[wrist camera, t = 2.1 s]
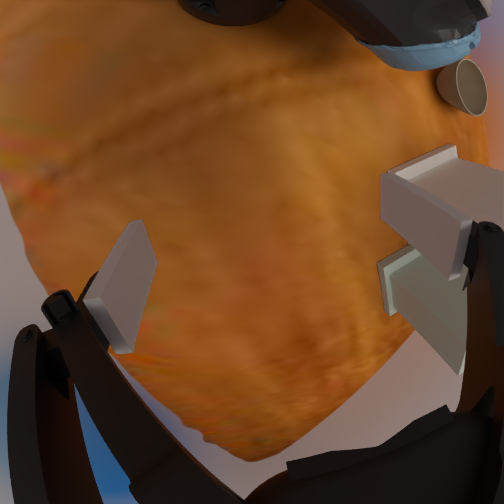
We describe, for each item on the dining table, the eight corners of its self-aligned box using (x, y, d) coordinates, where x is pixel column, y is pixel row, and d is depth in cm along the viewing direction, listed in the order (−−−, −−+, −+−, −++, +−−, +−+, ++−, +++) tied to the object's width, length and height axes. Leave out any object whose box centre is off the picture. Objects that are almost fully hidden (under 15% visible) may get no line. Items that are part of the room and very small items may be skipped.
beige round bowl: (420, 60, 32) (450, 56, 26) (453, 62, 32) (481, 60, 26) (433, 115, 36) (463, 118, 30) (463, 111, 37) (491, 114, 31)
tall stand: (399, 235, 44) (535, 335, 18) (387, 170, 39) (562, 246, 12) (455, 202, 44) (577, 268, 18) (448, 143, 39) (591, 190, 12)
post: (384, 310, 51) (451, 386, 31) (377, 262, 46) (464, 340, 26) (440, 273, 51) (511, 329, 31) (439, 225, 46) (526, 277, 26)
